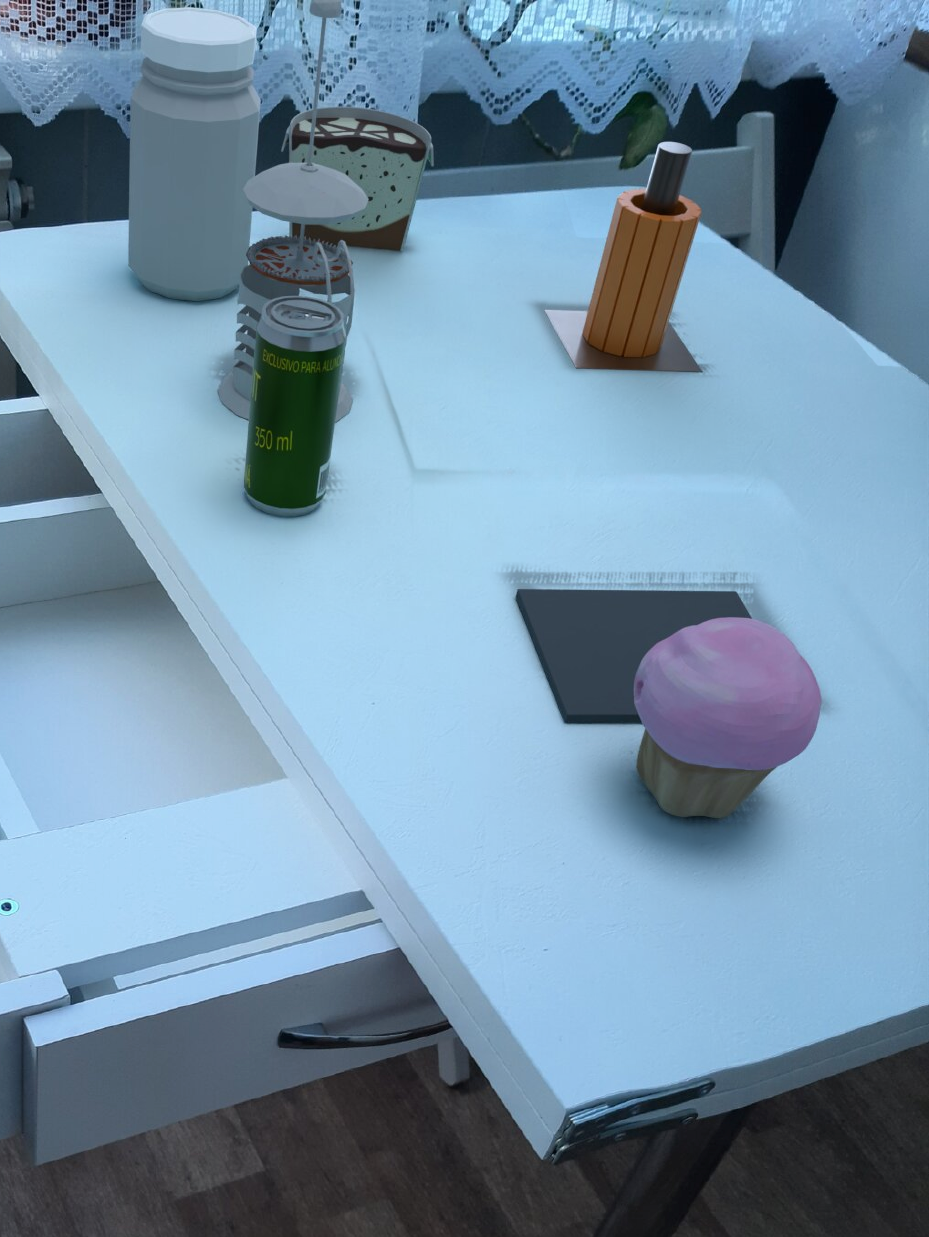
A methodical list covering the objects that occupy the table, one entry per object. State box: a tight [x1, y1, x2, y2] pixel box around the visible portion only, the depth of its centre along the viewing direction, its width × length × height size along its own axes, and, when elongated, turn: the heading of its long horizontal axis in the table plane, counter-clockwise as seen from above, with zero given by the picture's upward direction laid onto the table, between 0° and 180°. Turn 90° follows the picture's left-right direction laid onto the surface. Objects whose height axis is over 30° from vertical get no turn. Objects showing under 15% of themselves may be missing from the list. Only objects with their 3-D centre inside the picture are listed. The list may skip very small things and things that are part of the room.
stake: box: [543, 141, 704, 373], centre depth 103 cm, size 10×10×15 cm
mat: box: [515, 588, 753, 724], centre depth 81 cm, size 14×12×1 cm
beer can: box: [243, 295, 347, 518], centre depth 86 cm, size 5×5×12 cm
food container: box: [280, 106, 435, 253], centre depth 115 cm, size 12×6×10 cm, turn 88°
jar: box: [127, 6, 262, 302], centre depth 105 cm, size 10×10×18 cm
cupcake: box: [634, 617, 822, 819], centre depth 69 cm, size 9×9×10 cm
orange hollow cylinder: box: [583, 188, 702, 357], centre depth 104 cm, size 6×6×10 cm
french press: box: [217, 0, 369, 423], centre depth 90 cm, size 10×12×25 cm
